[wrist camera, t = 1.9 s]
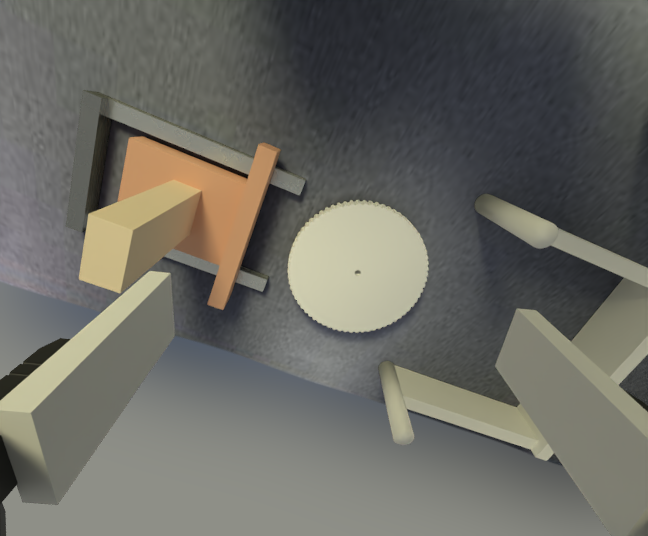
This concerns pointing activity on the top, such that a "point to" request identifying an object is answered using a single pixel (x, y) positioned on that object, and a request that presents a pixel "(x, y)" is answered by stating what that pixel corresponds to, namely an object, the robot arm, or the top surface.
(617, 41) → the top surface
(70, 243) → the top surface
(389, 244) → the plastic lid
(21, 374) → the robot arm
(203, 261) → the rail track
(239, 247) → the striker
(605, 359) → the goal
